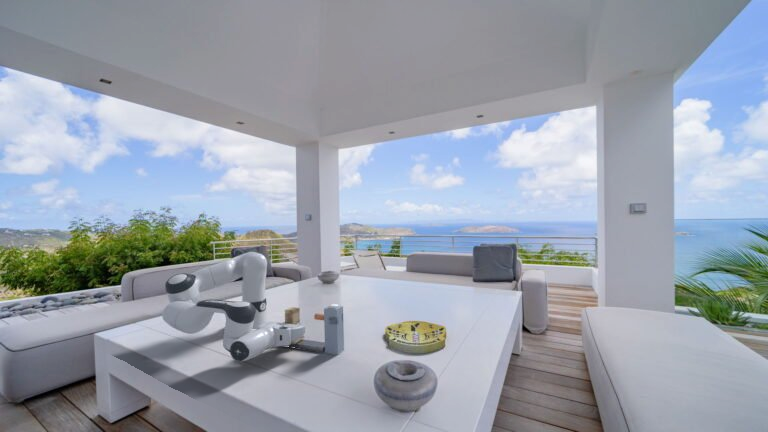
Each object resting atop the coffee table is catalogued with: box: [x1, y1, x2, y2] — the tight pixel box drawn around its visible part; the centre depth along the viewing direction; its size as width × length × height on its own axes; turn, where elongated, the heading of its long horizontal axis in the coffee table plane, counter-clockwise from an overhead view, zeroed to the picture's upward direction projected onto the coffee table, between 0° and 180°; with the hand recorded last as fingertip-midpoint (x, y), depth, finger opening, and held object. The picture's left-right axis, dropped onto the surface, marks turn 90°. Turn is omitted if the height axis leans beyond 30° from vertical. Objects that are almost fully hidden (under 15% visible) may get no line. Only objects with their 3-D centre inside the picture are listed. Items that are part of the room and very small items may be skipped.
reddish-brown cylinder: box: [313, 313, 324, 321], centre depth 123 cm, size 6×2×2 cm, turn 68°
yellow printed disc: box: [385, 320, 447, 354], centre depth 131 cm, size 28×3×30 cm
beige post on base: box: [284, 306, 305, 344], centre depth 128 cm, size 7×7×14 cm
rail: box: [288, 338, 325, 354], centre depth 126 cm, size 24×5×4 cm, turn 69°
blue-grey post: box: [323, 303, 345, 356], centre depth 120 cm, size 6×5×19 cm
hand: (293, 323), depth 129 cm, fingers closed on beige post on base, 4 cm apart
